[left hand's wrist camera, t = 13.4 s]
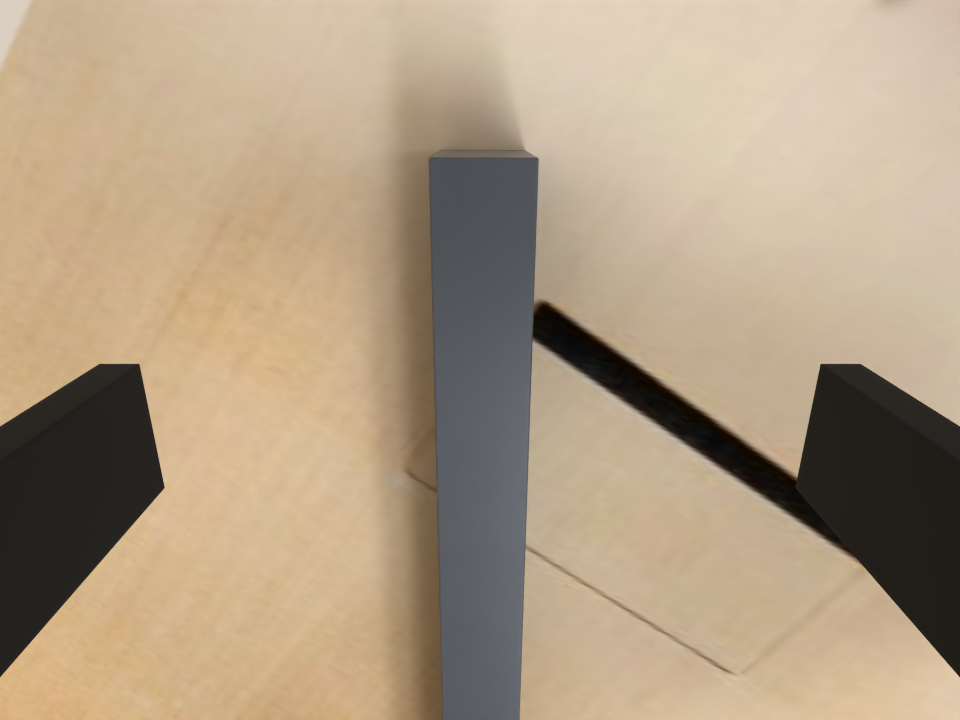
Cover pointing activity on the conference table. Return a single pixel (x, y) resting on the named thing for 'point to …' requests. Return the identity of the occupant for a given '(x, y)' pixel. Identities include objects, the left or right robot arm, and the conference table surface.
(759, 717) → the conference table surface
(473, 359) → the beam
